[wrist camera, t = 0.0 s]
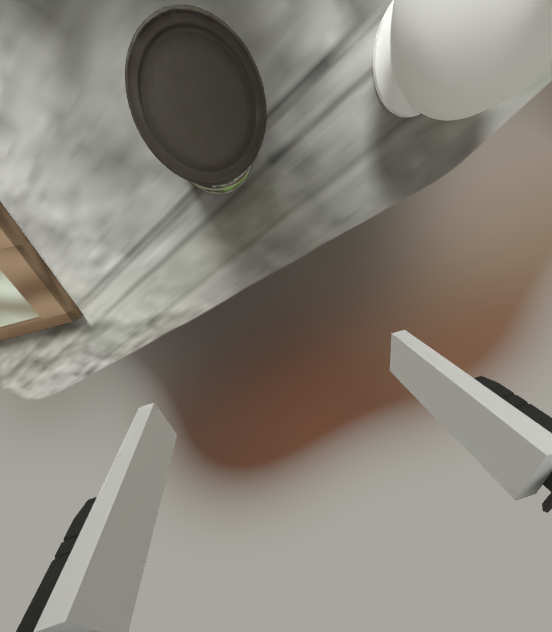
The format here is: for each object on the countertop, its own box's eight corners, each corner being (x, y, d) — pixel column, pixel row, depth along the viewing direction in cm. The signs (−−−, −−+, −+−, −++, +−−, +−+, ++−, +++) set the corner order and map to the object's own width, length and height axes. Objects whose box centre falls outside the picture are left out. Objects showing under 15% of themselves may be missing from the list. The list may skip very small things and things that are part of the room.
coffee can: (267, 158, 30) (291, 123, 18) (215, 210, 32) (204, 211, 20) (212, 75, 26) (193, -48, 13) (155, 141, 28) (91, 85, 15)
